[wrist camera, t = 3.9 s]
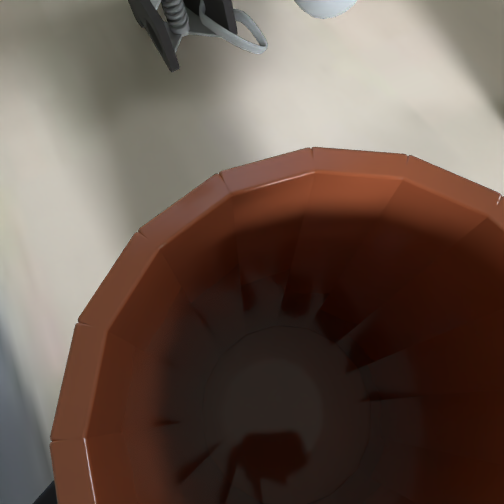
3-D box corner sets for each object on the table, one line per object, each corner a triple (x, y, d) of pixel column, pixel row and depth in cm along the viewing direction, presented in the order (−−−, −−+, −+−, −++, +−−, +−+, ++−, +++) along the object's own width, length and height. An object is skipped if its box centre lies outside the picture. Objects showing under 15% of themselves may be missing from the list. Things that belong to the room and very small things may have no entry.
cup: (331, 556, 16) (583, 1027, 4) (157, 452, 17) (-81, 554, 5) (405, 370, 18) (719, 285, 6) (246, 289, 19) (234, 78, 7)
